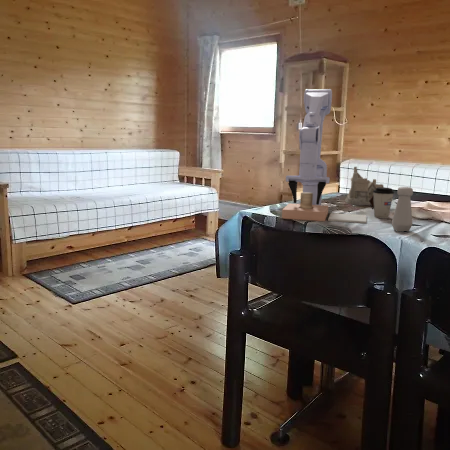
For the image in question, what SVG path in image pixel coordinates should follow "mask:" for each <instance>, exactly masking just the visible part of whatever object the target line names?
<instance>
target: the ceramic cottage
mask: <svg viewBox="0 0 450 450" xmlns="http://www.w3.org/2000/svg"><path fill="white" fill-rule="evenodd" d="M377 187H384V184H382V183H380V184H379V183H378V184H377V179H375V178H372V181H370V180H368V178H367V177H363V176H362V175H361V174H360V173H359V172H358V167H357V166H354V167H353V173H352V177H351V178H350V189H349V190H348V194H347V196H346V197H345V201H344V202H345V203H346V204H347V205H355V206H370V205H371V204H370V202H369V200H370V198H371V197H372V195H373V191H374V190H376V188H377Z"/></svg>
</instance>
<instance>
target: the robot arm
mask: <svg viewBox="0 0 450 450" xmlns="http://www.w3.org/2000/svg"><path fill="white" fill-rule="evenodd" d="M332 100H333V90H332V89H331V88H329V89H328V88H327V89H326V88H323V89H320V88H319V89H318V88H317V89H313V88H312V89H310V88H306V89H305V90H304V93H303V104H304V111H305V115H304V119H303V124H302V128H299V132H298V133H299V134H298V140H299V141H298V142H299V172H298V175H286V176H285V183H286V182H287V183H288V184H287V185H288V187H289V189H290V191H291V196H292V201H293V204H297V202H298V201H297V198H298V197H297V196H298V195H297V191H298V183H300V184H301V185H302V192H308V193H313V199H312V205H322V199H323V197H322V196H323V191H324V189H325V187H326V185H327V184H330V181H331V180H330V179H331V178H330V176H328V165H327V163H326V162H325V161H324V160H323V159H322V158H321V154H322V143H323V129H324V121H325V119H326V116H327V115H329V114H330V113H331V110H332V103H333V102H332Z"/></svg>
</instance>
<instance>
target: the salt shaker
mask: <svg viewBox="0 0 450 450" xmlns="http://www.w3.org/2000/svg"><path fill="white" fill-rule="evenodd" d="M396 193H397V194H396V195H397V196H398V199H397V202H396V206H395V210H394V213H393V216H392V221H391V225H392V228H393V231H395V230H397V231H396V232H398V231H409V232H410V231H411V228H412V227H413V215H412V213H413V212H412V201H411V200H412V199H411V196H413V194H414V189H413V188H412V187H410V186H400V187H397V192H396Z"/></svg>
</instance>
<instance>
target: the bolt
mask: <svg viewBox="0 0 450 450" xmlns="http://www.w3.org/2000/svg"><path fill="white" fill-rule="evenodd" d="M369 202H370V204H371V207H372V208H374V195H372V197H371V198H370V200H369Z"/></svg>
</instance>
